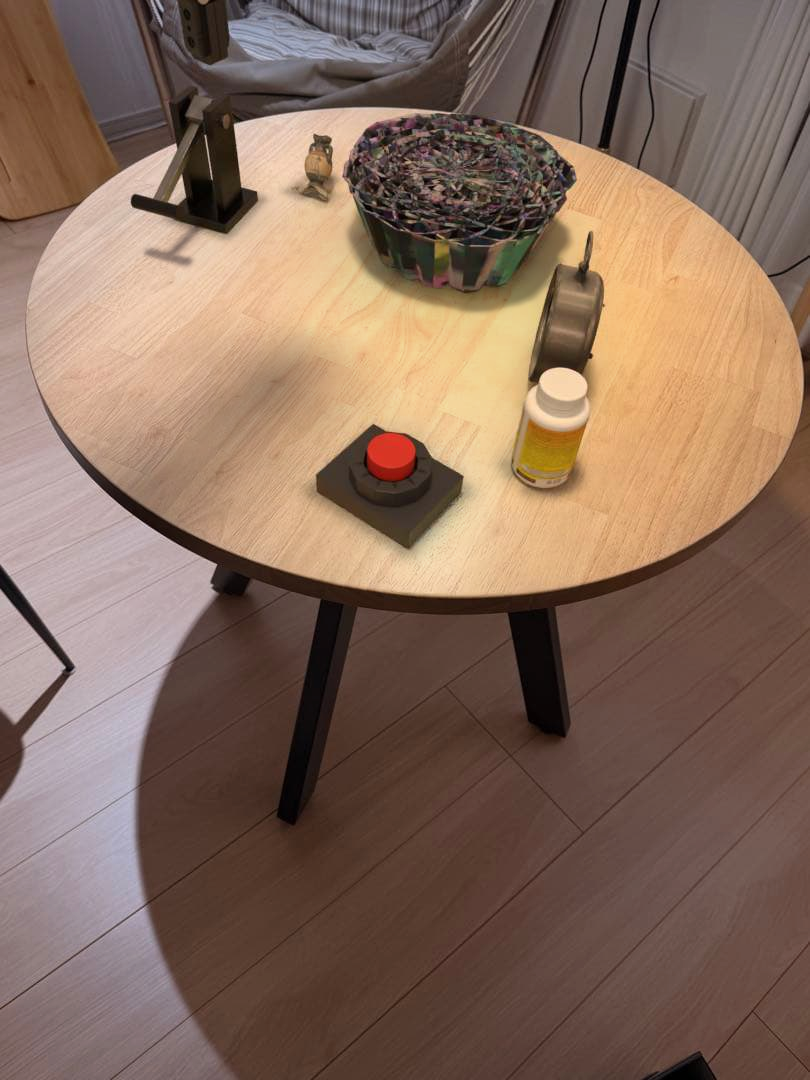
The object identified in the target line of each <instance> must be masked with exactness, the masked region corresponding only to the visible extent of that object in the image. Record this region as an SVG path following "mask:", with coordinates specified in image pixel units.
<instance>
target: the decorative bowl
mask: <svg viewBox="0 0 810 1080" xmlns="http://www.w3.org/2000/svg"><path fill="white" fill-rule="evenodd" d="M341 178H343V180H344V181H345V182H346V183H347V186H348V190H349V194H351V195H352V198H353V201H354V204H355V206H356V208H357V211H358V214H359V217H360V220H361V222H362V225H363V227H364V231H365V233H366V236H367V237H368V239H369V241H370V244H371V246H372V247H373V249H374V250H375V252H377V255H378V257H379V259H380V261H381V262H382V264H383V265H385V266H387V267H389V268H392V269H396V270H397V272H398V273H399V274H400V275H401V277H402V278H403V279H406V280H410V281H420V282H421V284H423V285H425V286H429V287H431V288H435V289H443V288H445V287H447V286H448V288H449V289H452V290H455V291H458V292H460V293H463V294H470V293H474V292H478V291H480V290H481V289H482V288H483V287H484V286H487V287H494V288H495V287H501V286H503V285H505V284H507V282H508V281H509V279H510V278H511V277H512V276H513V275H515V274H517V272H518V270H519V269H520V267H521V266H522V264H523V263H525V262H526V261H527V259H528V257H529V256H530V254H531V253H532V251H533V249H534V248H535V246H536V245H537V243H538V241H539V240H540V238H541V237H542V235H543V234H544V232H545V230H546V229H547V228H548V226H549V224H550V223H552V222H553V221H554V219H555V216H556V214H557V213H559V212H560V211H561V209H562V208H563V206H564V205H565V204H566V203H567V200H568V197H567V191H569V190H571V189H572V187H573V186H574V185H575V183H576V182H577V181H578V179H577V174H576V169H575V166H574V165H573V164H571V163H570V162H569V161H568V160H567V159H566V158H564V157H563V156H562V155H561V154H559V152H558V150H557V149H556V148H554V146H553V145H552V144H551V143H550V142H548V141H547V140H546V139H544V137H542V136H541V135H539V134H537V133H535V132H533V131H530V130H527V129H524V128H520V127H518V126H517V125H515V124H514V123H513V124H512V123H508V122H504V121H500V120H496V119H493V118H490V117H485V116H482V115H479V114H471V113H470V114H467V113H452V112H451V113H442V112H435V113H422V112H421V113H417V112H414V113H409V114H404V115H399V116H395V117H393V118H390V119H385V120H379V121H376V122H374V123H373V124H371V125H370V126H368V127H366V128H365V129H364V131H363V133H362V134H361V136H359V137H358V139H357V141H356V142H355V143H354V145H353V147H352V149H350V150H349V154H348V160H346V161H345V162H344V163H343V169H342V177H341Z"/></svg>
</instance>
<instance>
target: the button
mask: <svg viewBox="0 0 810 1080" xmlns="http://www.w3.org/2000/svg"><path fill="white" fill-rule="evenodd" d="M415 452H416V451H415V446H414V444H413V443H412V442H411V440H409V439H408V438H407V437H405V436H403V435H400V434H396V433H385V434H381V435H378V436H376V437H375V438H374V439H372V440H371V442H370V443H369V445H368V449H367V466H368V469H369V471H370V472H371V473H372V475H374V476H375V477H376V478H378V479H380V480H383V481H389V482H394V481H400V480H403V479H405V478H406V477H408V476H409V475H410V474H411V473H412V471H413V469H414V464H415Z"/></svg>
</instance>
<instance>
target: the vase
mask: <svg viewBox="0 0 810 1080" xmlns="http://www.w3.org/2000/svg"><path fill="white" fill-rule="evenodd" d="M312 139H313V142H312V143H310V145H309V146H308V154H307V155H306V157H305V159H304V172H305V176H306V178H307V180H309V183H308V184H307V185H306V186H305V187H303V186H302V185H300V186H298V185H296V186H293V187H292V186H291V193H293V192H294V191H295V190H296V191H297V192H299V193H302V195H305V194H307V193H309V192H319V193H318V194H319V198H321V200H323V201H325V200H328V199H330V196H332V193H330V194H329V195H328V192H327V191H326V189H325V187H324V184H325V183H327V181H328V180H329V179H330V178H331V176H332V175H331V174H332V172H333V167H334V165H333V164H334V163H333V153H334V147H333V146H332V145H331V144H332V141H333V138H332V137H331V136H329V135H327V134H326V135H325V134H324V135H319V134H316V133H313V134H312ZM291 173H292V172H290V174H291Z"/></svg>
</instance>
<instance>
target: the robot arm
mask: <svg viewBox="0 0 810 1080" xmlns="http://www.w3.org/2000/svg"><path fill="white" fill-rule="evenodd" d="M176 1H177V6H178V13H179V19H180V26H181V28H182V30H181V31H182V36H183V37H182V38H183V44H184V47H185V49H186V51H187V53H189V54H190V55H191V57H192V58H193V59H194V60H196V61H198V62H200V63H203V64H205V65H207V66H213V65H216V64H218V63H219V62H222V61H224V60H226V59H227V58H229V57H228V56H229V50H228V48H230V40H231V39H230V38H231V36H230V29H229V28H230V27H229V22H228V21H229V19H228V11H227V3H226V2H227V1H226V0H176Z"/></svg>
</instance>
